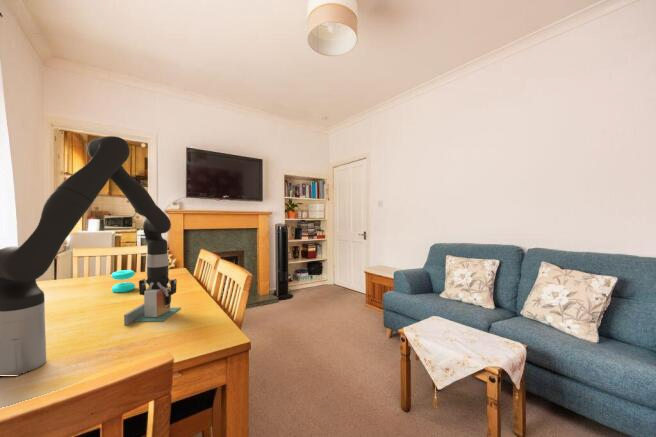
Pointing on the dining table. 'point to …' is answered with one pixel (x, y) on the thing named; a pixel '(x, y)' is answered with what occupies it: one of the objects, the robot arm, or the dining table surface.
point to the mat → (157, 319)
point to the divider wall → (133, 315)
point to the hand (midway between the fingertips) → (158, 304)
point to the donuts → (120, 276)
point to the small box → (155, 303)
